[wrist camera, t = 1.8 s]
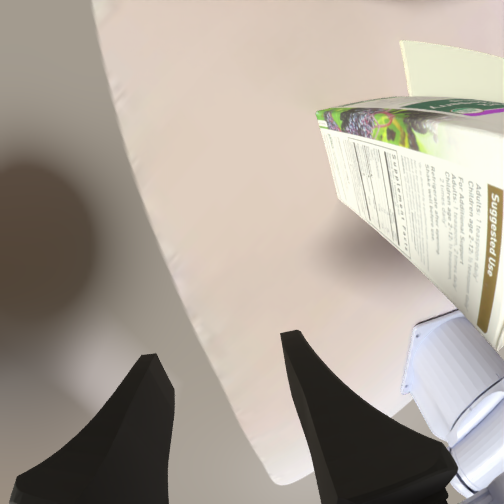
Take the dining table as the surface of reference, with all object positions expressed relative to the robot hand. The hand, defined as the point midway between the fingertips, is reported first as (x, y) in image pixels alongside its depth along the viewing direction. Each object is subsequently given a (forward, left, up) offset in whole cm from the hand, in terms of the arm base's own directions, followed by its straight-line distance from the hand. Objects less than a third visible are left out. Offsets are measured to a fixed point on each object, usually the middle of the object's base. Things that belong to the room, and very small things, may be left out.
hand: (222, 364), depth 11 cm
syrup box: (+5, -10, -10) cm, 15 cm away
